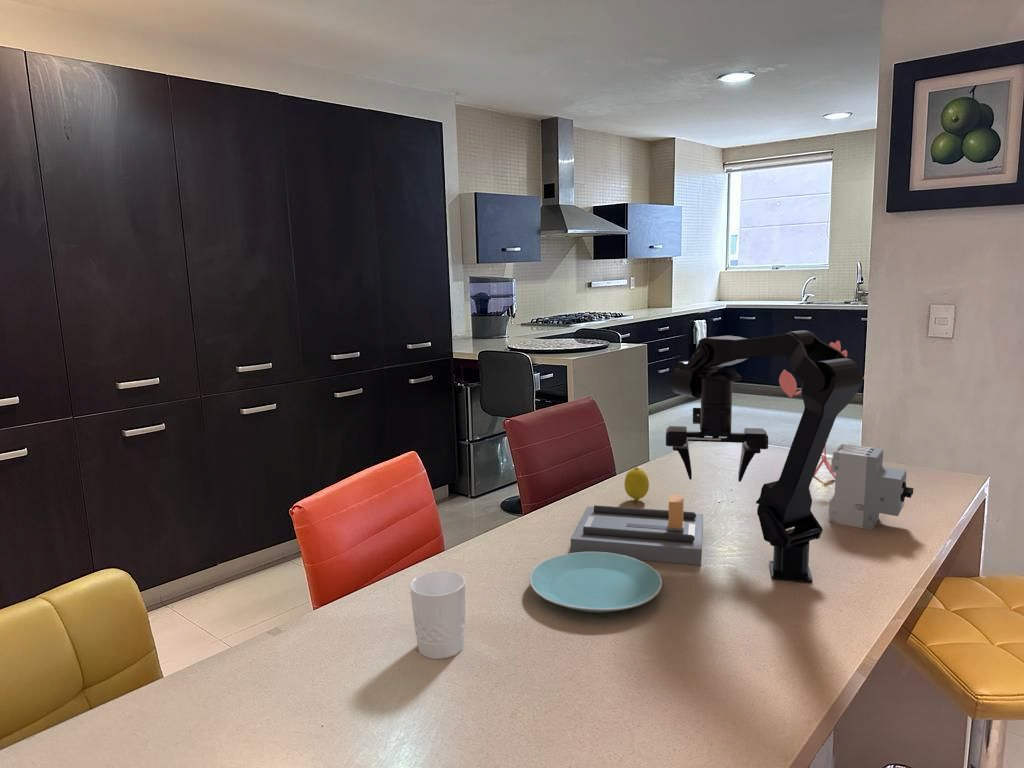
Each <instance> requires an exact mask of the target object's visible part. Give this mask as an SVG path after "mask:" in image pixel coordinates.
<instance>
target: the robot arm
mask: <svg viewBox="0 0 1024 768" xmlns="http://www.w3.org/2000/svg"><path fill="white" fill-rule="evenodd" d="M841 352H842V351H841ZM841 352H840V351H838V350H837V349H835V348H833V347H831V346H829V344H827V343H825V342H824V341H822V340H820V339H819V338H818V336H816V335H815V333H813V332H811V331H809V330H796V331H789V332H786V333H782V334H773V335H766V336H759V337H758V336H757V337H749V338H746V337H741V336H737V335H736V336H734V335H720V336H710V337H703V338H700V339H699V340H698V343H697V346H696V348H695V349H694V352H693V353H692V355H691V357H690V358H689V360H682V361H678V362H677V367H676V368H675V369H674V370H673V371H672V373H671V375H670V378H669V381H668V383H669V387H670V389H671V391H672V392H673V393H674V394H677V395H681V396H686V397H690V398H695V399H699V398H700V407H692V424H693V425H699V431H688V430H687V429H688V428H687V426H683V425H682V426H679V425H676V426H674V425H673V426H672V425H669V426H668V427H667V428H666V431H665V446H667V447H672V451H675V452H676V451H677V452H678V454H679V456H680V457H681V460H682V462H683V464H684V468H685V470H686V473H687V477H688V480H690V481H692V479H693V478H692V477H693V476H692V474H693V473H692V472H693V471H692V464H691V455H690V448H689V442H700V443H701V442H702V443H704V442H705V443H707V442H708V443H737V444H738V443H741V453H740V460H739V465H738V466H739V467H738V475H737V476H738V482H739V483H741V482H742V480H743V478H744V475H745V473H746V471H747V469H748V466H749V465H750V463H751V461H752V460H753V458H754V456H755V455H756V454H761V450H768V449H769V436H768V433H767V432H766V431H767V430H765V429H764V428H760V427H759V428H757V427H755V428H753V427H744V429H743V432H732V419H733V418H732V412H733V411H732V409H733V382H736V381H737V382H738V381H741V380H742V376H741V375H740V374H739V372H737V371H736V369H735V368H734V367H728V366H732V365H736V364H739V363H742V362H744V361H746V360H748V359H758V358H768V357H779V356H785V357H786V358H787V359H788V360H789V364H790V365H791V368H792V369H791V370H792V372H793V374H794V375H795V376H796V377H797V378H798V379H799V380H800V381H801V382H802V386H801V390H800V391H801V393H800V394H801V396H802V401H803V406H804V409H803V412H802V415H801V418H800V419H799V422H798V426H797V429H796V431H795V433H794V434H795V435H794V437H793V440H792V443H791V445H790V448H789V451H788V454H787V457H786V459H785V461H784V464H783V466H782V467H783V468H782V470H781V473H780V475H779V478H778V480H776V481H772V482H771V481H770V482H766V483H763V485H762V487H761V491H760V494H759V495H760V496H759V498H758V499H757V500H756V501H755V503H756V504H758V505H757V509H756V511H757V512H756V514H757V516H758V520H759V524H760V529H761V532H762V537H763V540H764V541H765V542H768V543H769V545H770V546H772V547H773V554H772V555H773V557H772V558H773V560H769V570H770V574H771V575H770V577H771V578H772V579H774V580H784V581H794V582H795V581H796V582H803V583H805V582H806V583H812V582H813V575H812V573H811V572H812V571H811V569H810V566H809V563H810V562H809V561H810V542H811V541H815V540H818V539H820V537H821V535H822V534H823V527H822V526H821V524H820V523H819V521H818V520H817V518H816V517H815V515H814V514H813V512H812V511H811V509H812V505H813V498H812V494H811V491H810V486H811V483H812V481H813V478H814V477H815V476H814V473H815V470H816V469H817V467H818V465H819V464H820V461H821V459H822V457H821V455H823V452H824V447H825V445H826V446H827V442H828V439H829V437H830V434H831V431H832V428H833V426H834V424H835V421H836V418H837V417H838V415H839V414H840V413H841V412H842V411H843V410H844V409H845V408H847V406H848V405H849V404H850V403H851V402H852V401H853V399H854V398H855V396H856V395H857V393H858V391H859V390H860V388H861V387H862V384H863V381H864V379H863V377H864V373H863V372H862V370H861V368H860V366H859V365H858V364H857V362H855V361H854V360H852V359H850V358H848V356H847V357H845V356H844V355H843V354H842V353H841ZM726 366H727V367H726ZM724 367H725V368H724ZM723 368H724V369H723ZM722 369H723V370H722Z"/></svg>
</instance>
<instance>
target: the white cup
mask: <svg viewBox="0 0 1024 768" xmlns="http://www.w3.org/2000/svg"><path fill="white" fill-rule="evenodd" d="M409 588H410V599H411V606H412V607H411V608H412V616H413V617H412V618H413V622H414V631H415V635H416V636H415V637H416V644H417V650H418V652H419V653H420V654H421V655H422V656H424V657H425V658H428V659H433V660H439V659H442V660H443V659H447V658H450V657H451V658H452V657H454V656H456V655H457V654H459V653H460V652H461V651H462V650H464V649H463V648H464V646H465V627H466V578H465V577H464V576H463V575H461V574H460V573H458V572H455V571H451V570H450V571H449V570H434V571H429V572H425V573H423V574H420V575H418V576H416V577H414V578H413V579H412V580H411V581H410V584H409Z"/></svg>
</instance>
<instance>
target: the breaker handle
mask: <svg viewBox="0 0 1024 768" xmlns="http://www.w3.org/2000/svg"><path fill="white" fill-rule="evenodd" d="M684 497H685V496H684V494H671V493H670V494H669V497H668V510H669V521H668V530H677V531H684V521H683V514H684V512H685V511H684V507H685V506H684V505H685V504H684V503H685V502H684V499H685V498H684Z"/></svg>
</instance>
